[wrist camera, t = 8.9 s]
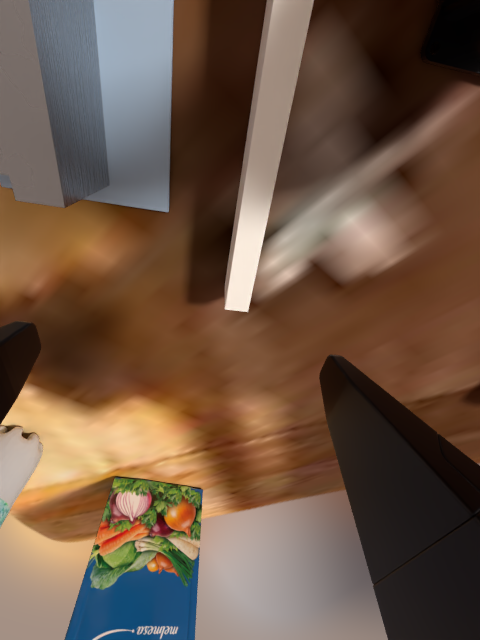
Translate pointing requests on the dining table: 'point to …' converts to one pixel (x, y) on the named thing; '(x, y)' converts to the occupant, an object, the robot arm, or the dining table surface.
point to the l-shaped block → (265, 140)
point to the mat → (135, 100)
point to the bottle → (16, 465)
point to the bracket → (51, 101)
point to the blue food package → (142, 565)
